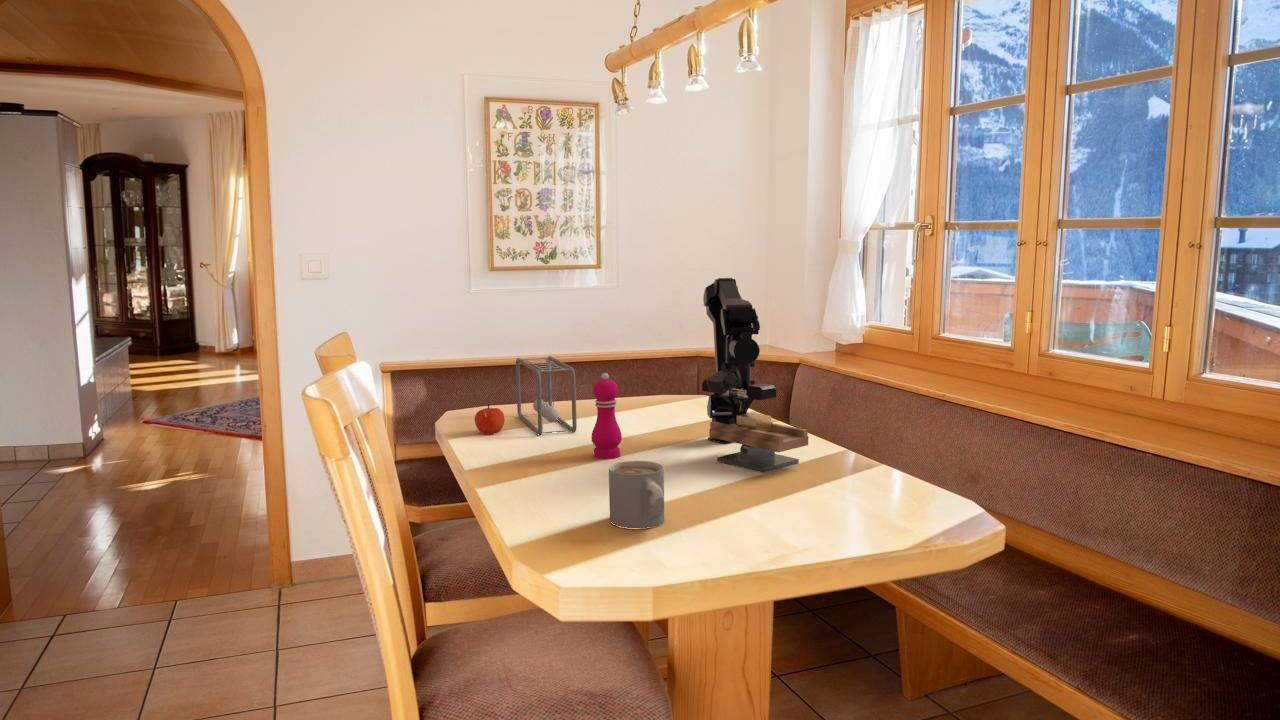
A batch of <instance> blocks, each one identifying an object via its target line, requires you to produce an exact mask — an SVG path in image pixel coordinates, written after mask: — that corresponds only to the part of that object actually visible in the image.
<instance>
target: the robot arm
mask: <svg viewBox="0 0 1280 720" xmlns="http://www.w3.org/2000/svg"><path fill="white" fill-rule="evenodd" d="M702 299H703V306H704V307H705V310H706V315H707V317H708V318H709V320H710V321H711V322H712V324H713V325H712V326H713V327H712V328H713V342H714V343H713V344H714V358H715V359H714V362H715V373H713V374H712V375H711V376H708V378H704V380H703V381H702V382H701V388H702V389H701V391H703V392H706V393H707V392H708V393H710V394H709V395H708V400H707V405H706V411H707V416H708V417H709V419H711V422H719V423H724V424H729V425H730V424H736V425H737V415H741V414H746V413H748V410H749V408H750V406H751V405H752V403H753V401H754V400H756V401H764V400H768V399H774V398H777V388H776V387H775V384H774V385H773V384H768V383H759V384H755V379H752V377H751V375H752V373H751V370H752V368H755V362H756V360H757V359H758V358H759V355H760V347H759V344H758V342H757V341H756V340H754V338H753V335H759V331H760V329H761V324H760V321H759V320H760V319H759V315H758V313H757V311H756V308H754V307H753V304H752V303H751V302H750V301H749V300H745V299H743V298H742V296H741V293H740V292H739V286H738V284H737V281H736V279H735V278H733V277H719V278H717V279H715V278H714V282H713V283H711V284H709V285H707V286H706V287H705V289H704V292H703V298H702ZM707 440H708V441H713V442H716V443H717V442H718V443H721V444H730V443H731V442H729V441H725V440H720V439H716V438H711V437H709V436H708V437H707Z"/></svg>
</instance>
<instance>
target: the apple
mask: <svg viewBox="0 0 1280 720" xmlns="http://www.w3.org/2000/svg"><path fill="white" fill-rule="evenodd" d="M505 422H506V417H505V414H504V412H503V411H502V409H500V408H497V407H494V408H493V407H490V403H489V404H487V407H486V408H483V409H480V410H478V411H477V412H476V414H475V415H474V424H475V427H476V428H477V430H478V432H480V433H481V434H482V433H483V434H482V435H491V434H492V435H495V434H494V433H496V434H498V433H499V432H501V431H502V429H503V428H504V425H505Z"/></svg>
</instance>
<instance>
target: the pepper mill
mask: <svg viewBox="0 0 1280 720" xmlns="http://www.w3.org/2000/svg"><path fill="white" fill-rule="evenodd" d="M592 394H593V396H594V397H595V406H594V407H596V410H597V416H596V421H595V424H594V427H593V429H592V430H591V431H592V432H591V438H590V439H591V442H592V444H593V445H594V448H593V456H594V458H597V459H600V458H602V460H608V459H609V460H610V459H611V458H612V459H616V458H619V457H620V456H621V448H620V447H619V445H620V444H621V442H622V440H623V438H622V437H623V436H622V432H621V428H620V426H619V424H618V422H617V418H616V413H615V408H616V406H617V399H616V397H617V396H618V394H619V387H618V384H617V383H616V382H615V381H614V380H612V379H610V375H609V374H608V372H607V373H606V372H603V373H602V374H601V379H600V380H598V381H596V382H595V383H594V384H593V386H592Z"/></svg>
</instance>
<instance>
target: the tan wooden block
mask: <svg viewBox="0 0 1280 720" xmlns="http://www.w3.org/2000/svg"><path fill="white" fill-rule="evenodd" d="M771 422H772V415H767V414H763V413H757V412H747V413H746V414H741V415H737V426H739V427H744V428H745V427H749V429H754V430H759V431H763V432H769V431H771Z"/></svg>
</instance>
